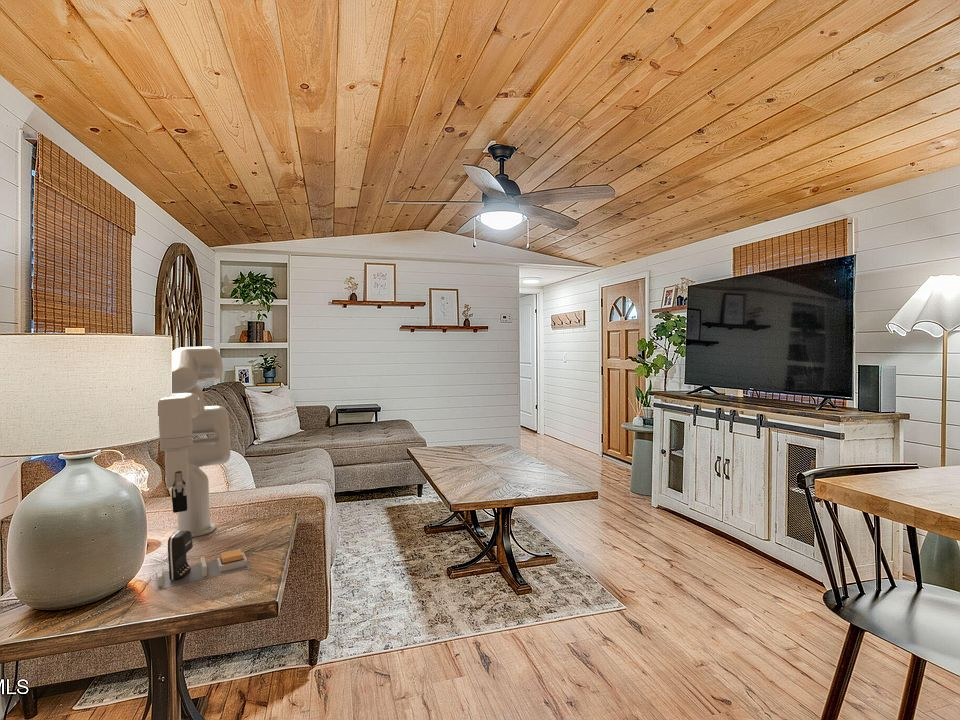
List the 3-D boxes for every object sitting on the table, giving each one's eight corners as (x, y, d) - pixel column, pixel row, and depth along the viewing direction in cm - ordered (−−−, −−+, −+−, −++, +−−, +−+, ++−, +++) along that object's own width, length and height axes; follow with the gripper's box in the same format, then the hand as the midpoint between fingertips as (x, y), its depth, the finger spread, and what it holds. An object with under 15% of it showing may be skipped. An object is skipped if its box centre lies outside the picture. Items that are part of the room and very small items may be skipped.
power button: (221, 557, 143) (220, 552, 143) (240, 552, 146) (240, 548, 146) (222, 563, 139) (222, 558, 139) (242, 558, 142) (242, 554, 142)
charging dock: (156, 578, 138) (155, 564, 138) (245, 558, 150) (244, 545, 150) (155, 596, 128) (155, 580, 128) (251, 573, 139) (250, 559, 139)
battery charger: (184, 580, 133) (182, 537, 133) (168, 581, 132) (166, 538, 132) (195, 569, 140) (193, 527, 140) (180, 570, 139) (178, 528, 139)
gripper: (159, 439, 141) (162, 501, 141) (159, 450, 126) (163, 518, 127) (191, 436, 145) (193, 496, 145) (194, 446, 130) (197, 512, 131)
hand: (179, 506), depth 136 cm, fingers open, 9 cm apart
